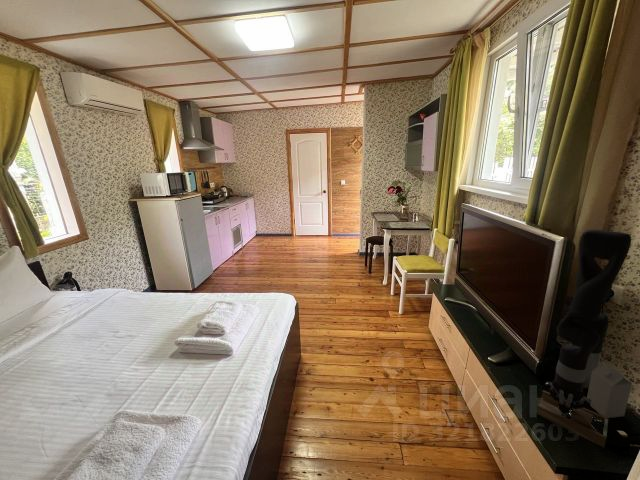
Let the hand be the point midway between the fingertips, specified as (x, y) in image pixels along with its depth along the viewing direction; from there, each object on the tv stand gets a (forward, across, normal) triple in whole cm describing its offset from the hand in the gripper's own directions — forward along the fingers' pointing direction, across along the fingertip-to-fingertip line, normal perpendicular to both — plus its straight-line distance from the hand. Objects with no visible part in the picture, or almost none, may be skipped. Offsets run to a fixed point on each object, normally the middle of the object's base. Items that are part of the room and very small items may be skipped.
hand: (563, 411), depth 98 cm
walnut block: (+1, -5, 0) cm, 5 cm away
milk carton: (+3, -10, -14) cm, 18 cm away
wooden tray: (+3, -2, 0) cm, 3 cm away
